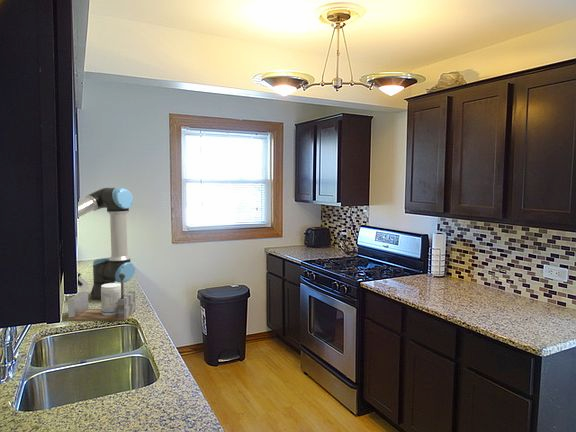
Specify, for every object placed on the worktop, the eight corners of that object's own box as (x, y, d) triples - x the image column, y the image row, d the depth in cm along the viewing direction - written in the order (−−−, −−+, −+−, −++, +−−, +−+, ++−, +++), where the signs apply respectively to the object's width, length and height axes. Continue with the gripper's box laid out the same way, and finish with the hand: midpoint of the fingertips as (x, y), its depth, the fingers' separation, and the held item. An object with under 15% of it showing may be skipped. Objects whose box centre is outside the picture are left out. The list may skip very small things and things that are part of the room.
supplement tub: (105, 311, 212) (104, 282, 211) (124, 310, 213) (123, 282, 212) (98, 316, 202) (97, 287, 201) (118, 316, 203) (117, 286, 202)
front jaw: (82, 308, 214) (82, 291, 214) (88, 308, 215) (88, 291, 214) (68, 317, 199) (67, 299, 199) (74, 317, 200) (74, 299, 199)
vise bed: (81, 311, 215) (80, 267, 214) (135, 311, 216) (134, 268, 215) (65, 320, 199) (64, 274, 198) (124, 320, 200) (123, 274, 199)
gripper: (50, 260, 209) (81, 290, 214) (45, 264, 186) (79, 297, 192) (63, 250, 211) (93, 280, 217) (59, 253, 189) (93, 286, 194)
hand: (87, 288), depth 204 cm, fingers open, 13 cm apart
